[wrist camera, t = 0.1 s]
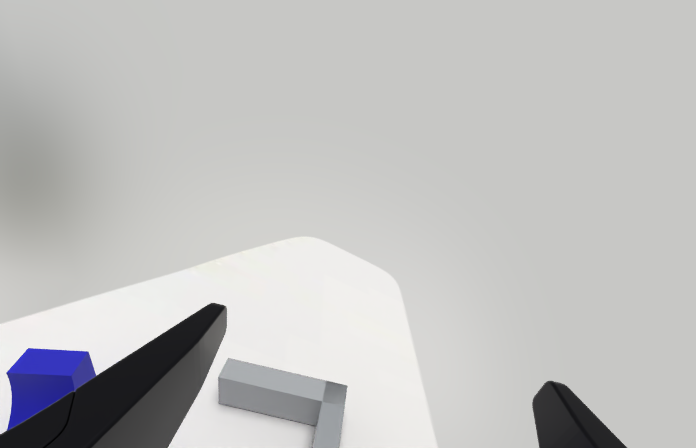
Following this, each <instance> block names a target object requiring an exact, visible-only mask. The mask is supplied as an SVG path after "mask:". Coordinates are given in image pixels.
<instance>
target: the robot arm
mask: <svg viewBox="0 0 696 448" xmlns="http://www.w3.org/2000/svg"><path fill="white" fill-rule="evenodd" d="M226 328H227V308H226V306H224V305H220V304H216V303H211V304H209V305H207V306H205V307H204V308H202V309H201V310H199V311H198V312H196V313H194V314H193V315H191V316H190V317H188V318H187V319H185V320H183V321H182V322H180V323H179V324H177V325H176V326H174V327H172V328H171V329H169V330H168V331H166V332H165V333H163V334H161V335H160V336H158V337H157V338H155V339H154V340H152V341H150V342H149V343H147V344H146V345H144V346H143V347H141V348H139V349H138V350H136V351H135V352H133V353H132V354H130V355H128V356H127V357H125V358H124V359H122V360H121V361H119V362H117V363H116V364H114V365H113V366H111V367H110V368H108V369H106V370H105V371H103V372H102V373H100V374H99V375H97V376H95V377H94V378H92V379H91V380H89V381H88V382H86V383H84V384H83V385H81V386H80V387H78V388H77V389H76V391H72V392H70V393H68V394H67V395H65V396H64V397H62V398H61V399H59V400H57V401H56V402H54V403H53V404H51V405H49V406H48V407H46V408H45V409H43V410H41V411H40V412H38V413H36V414H35V415H33V416H31V417H30V418H28V419H27V420H25V421H23V422H22V423H20V424H18V425H16V426H14V427H13V428H11V429H9V430H7V431H6V432H4V433H2V434H0V448H168V446H169V444H170V443H171V441H172V439H173V437H174V436H175V434H176V432H177V430H178V429H179V427H180V425H181V423H182V421H183V420H184V418H185V416H186V414H187V413H188V411H189V409H190V407H191V406H192V404H193V402H194V400H195V399H196V397H197V395H198V393H199V391H200V389H201V387H202V385H203V383H204V381H205V379H206V376H207V374H208V372H209V369H210V367H211V365H212V363H213V360H214V358H215V356H216V353H217V351H218V349H219V346H220V344H221V342H222V340H223V337H224V335H225V332H226ZM533 412H534V418H535V424H536V430H537V436H538V442H539V448H627V447H626V446H625V445H624V444H623V443H622V442H621V441H620V440H619V439H618V438H617V437H616V436H615V435H614V434H613V433H612V432H611V431H610V430H609V429H608V428H607V427H606V426H605V425H604V424H603V423H602V422H601V421H600V420H599V419H598V418H597V417H596V415H595V414H593V412H591V410H590V409H589V408H588V407H587V406H586V405H585V404H584V403H583V402H582V401H581V400H580V399H579V398H578V397H577V396H576V395H575V394H574V393H573V392H572V391H571V390H570V389H569V388H568V387H567V386H565V385H564V384H561V383H558V382H554V381H547V382H546V383H545V384H544V385H543V386H542V388H541V389H540V390H539V391H538V393H537V394H536V395H535V397H534V399H533Z"/></svg>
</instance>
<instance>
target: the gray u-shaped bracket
mask: <svg viewBox="0 0 696 448" xmlns="http://www.w3.org/2000/svg"><path fill="white" fill-rule="evenodd" d="M218 382H219V403H220V404H224V405H228V406H232V407H237V408H241V409H245V410H249V411H254V412H258V413H262V414H266V415H271V416H275V417H279V418H283V419H288V420H292V421H296V422H301V423H305V424H309V425H313V426H316V428H315V433H314V438H313V443H312V448H339V444H340V436H341V429H342V422H343V414H344V407H345V399H346V392H347V386H346V385H342V384H338V383H333V382H329V381H325V380H320V379H316V378H312V377H308V376H303V375H299V374H295V373H290V372H286V371H282V370H278V369H273V368H269V367H265V366H260V365H256V364H252V363H248V362H243V361H239V360H235V359H230V358H228V360H227V362H226V363H225V365H224V367H223V369H222V371H221V373H220V375H219V377H218Z"/></svg>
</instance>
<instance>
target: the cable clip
mask: <svg viewBox="0 0 696 448" xmlns="http://www.w3.org/2000/svg"><path fill="white" fill-rule="evenodd" d="M7 375H8V378H9V381H10V385H11V391H12V407H11V415H10V421H9V425H8V429H7V430H9V429H11V428H13V427H14V426H16V425H18V424H20V423H22V422H23V421H25V420H27V419H28V418H30V417H31V416H33V415H35V414H36V413H38V412H40V411H41V410H43V409H45V408H46V407H48V406H49V405H51V404H53V403H54V402H56V401H57V400H59V399H61V398H62V397H64V396H65V395H67V394H68V393H70V392H72V391H76V389H77V388H78V387H80V386H81V385H83V384H84V383H86V382H88V381H89V380H91V379H92V378H94V377H95V376H96V374H95V371H94V368H93V365H92V361H91V358H90V355H89V352H85V351H67V350H49V349H31V348H28V349H27V350H26V352H25V353H24V354H23V355H22V356H21V357H20V358H19V359H18V360H17V362H16V363H15V364H14V365H13V366H12V367H11V368H10V369H9V371H8V372H7Z"/></svg>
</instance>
